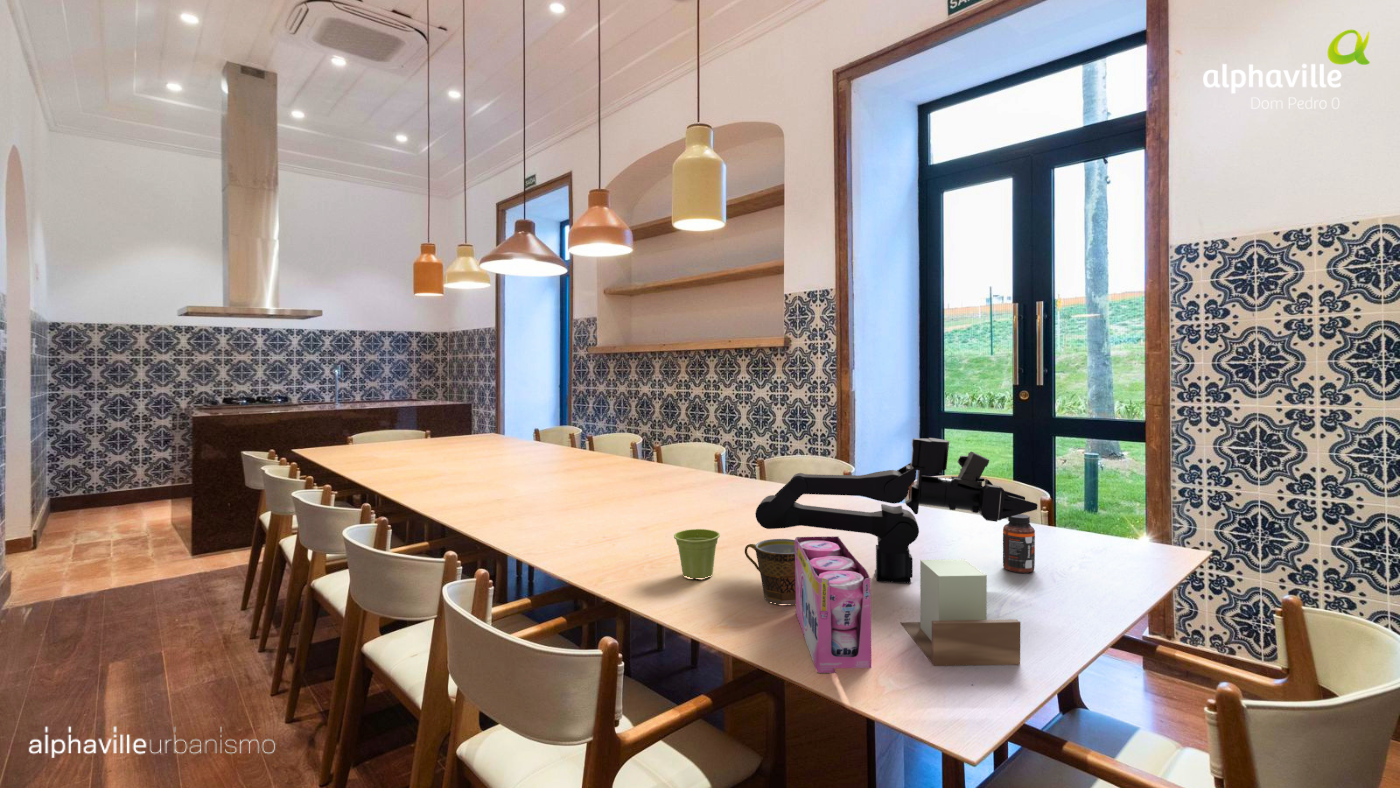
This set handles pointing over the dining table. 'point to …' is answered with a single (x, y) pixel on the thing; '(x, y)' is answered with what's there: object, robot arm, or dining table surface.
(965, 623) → the brown box
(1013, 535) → the supplement bottle
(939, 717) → the dining table surface
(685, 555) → the plant pot
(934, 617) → the sage block
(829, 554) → the gum box
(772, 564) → the ceramic cup
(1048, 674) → the dining table surface
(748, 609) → the dining table surface
